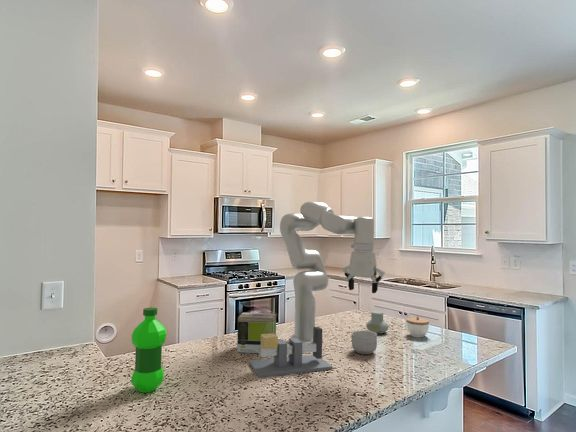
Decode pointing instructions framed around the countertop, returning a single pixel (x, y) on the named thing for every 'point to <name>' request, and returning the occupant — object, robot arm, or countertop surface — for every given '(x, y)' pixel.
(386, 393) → the countertop surface
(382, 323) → the air freshener
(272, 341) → the block
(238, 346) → the tea box
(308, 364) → the bracket
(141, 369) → the plastic bottle
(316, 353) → the shaft
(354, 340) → the teacup
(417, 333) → the lidded jar
